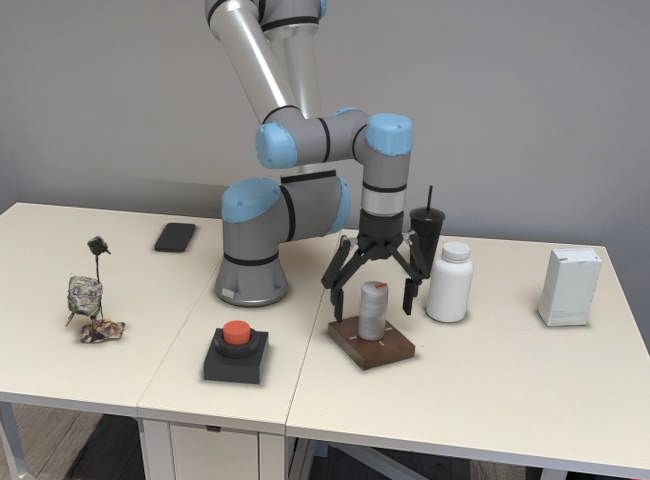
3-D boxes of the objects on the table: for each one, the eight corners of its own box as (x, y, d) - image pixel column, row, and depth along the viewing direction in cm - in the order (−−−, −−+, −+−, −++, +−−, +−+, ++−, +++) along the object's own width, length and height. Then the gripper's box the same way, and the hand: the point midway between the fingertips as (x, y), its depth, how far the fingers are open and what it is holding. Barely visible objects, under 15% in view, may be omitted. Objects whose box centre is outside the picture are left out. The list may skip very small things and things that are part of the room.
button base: (217, 344, 147) (215, 317, 143) (268, 348, 146) (268, 321, 142) (204, 380, 137) (202, 352, 133) (259, 384, 136) (259, 356, 132)
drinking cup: (442, 268, 173) (455, 184, 162) (429, 281, 168) (441, 195, 157) (411, 260, 177) (421, 176, 165) (397, 273, 171) (407, 187, 160)
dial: (366, 343, 143) (370, 294, 137) (352, 330, 146) (356, 282, 141) (389, 337, 144) (394, 289, 138) (375, 324, 148) (380, 277, 142)
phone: (196, 223, 191) (183, 249, 178) (196, 226, 191) (184, 252, 179) (167, 222, 192) (152, 247, 179) (167, 225, 192) (153, 250, 180)
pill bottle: (465, 325, 153) (477, 257, 144) (425, 321, 154) (434, 253, 146) (465, 306, 159) (476, 240, 151) (426, 302, 160) (435, 236, 152)
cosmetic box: (575, 311, 158) (593, 245, 149) (586, 327, 153) (605, 259, 144) (535, 312, 157) (550, 246, 149) (545, 327, 152) (561, 260, 144)
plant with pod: (76, 320, 153) (61, 228, 142) (131, 325, 152) (120, 232, 141) (61, 342, 147) (44, 247, 136) (118, 347, 146) (106, 251, 134)
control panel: (327, 333, 150) (328, 321, 149) (375, 321, 154) (376, 310, 152) (363, 370, 140) (364, 358, 138) (414, 357, 143) (415, 345, 142)
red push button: (226, 330, 140) (225, 319, 139) (252, 332, 140) (251, 321, 138) (221, 344, 136) (220, 333, 135) (247, 346, 136) (247, 335, 134)
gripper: (441, 195, 136) (427, 299, 148) (306, 205, 132) (303, 312, 144) (458, 211, 130) (442, 318, 142) (318, 223, 126) (313, 333, 138)
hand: (372, 315), depth 143 cm, fingers open, 13 cm apart
